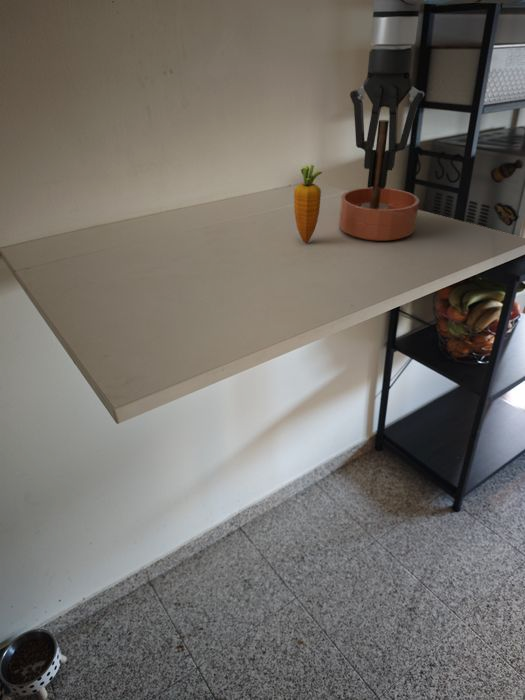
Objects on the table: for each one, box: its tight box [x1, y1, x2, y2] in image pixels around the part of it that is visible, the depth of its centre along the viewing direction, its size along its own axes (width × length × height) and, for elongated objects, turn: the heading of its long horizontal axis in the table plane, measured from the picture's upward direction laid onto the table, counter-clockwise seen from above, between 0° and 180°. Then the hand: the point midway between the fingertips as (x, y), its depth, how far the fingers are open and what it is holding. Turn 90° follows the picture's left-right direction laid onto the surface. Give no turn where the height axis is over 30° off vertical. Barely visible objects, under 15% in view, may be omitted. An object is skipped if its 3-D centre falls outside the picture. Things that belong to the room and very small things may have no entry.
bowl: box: [338, 187, 420, 242], centre depth 103 cm, size 15×15×6 cm
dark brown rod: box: [360, 119, 389, 209], centre depth 97 cm, size 6×6×18 cm
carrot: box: [293, 164, 323, 244], centre depth 94 cm, size 5×5×15 cm
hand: (376, 186), depth 99 cm, fingers closed on dark brown rod, 2 cm apart
